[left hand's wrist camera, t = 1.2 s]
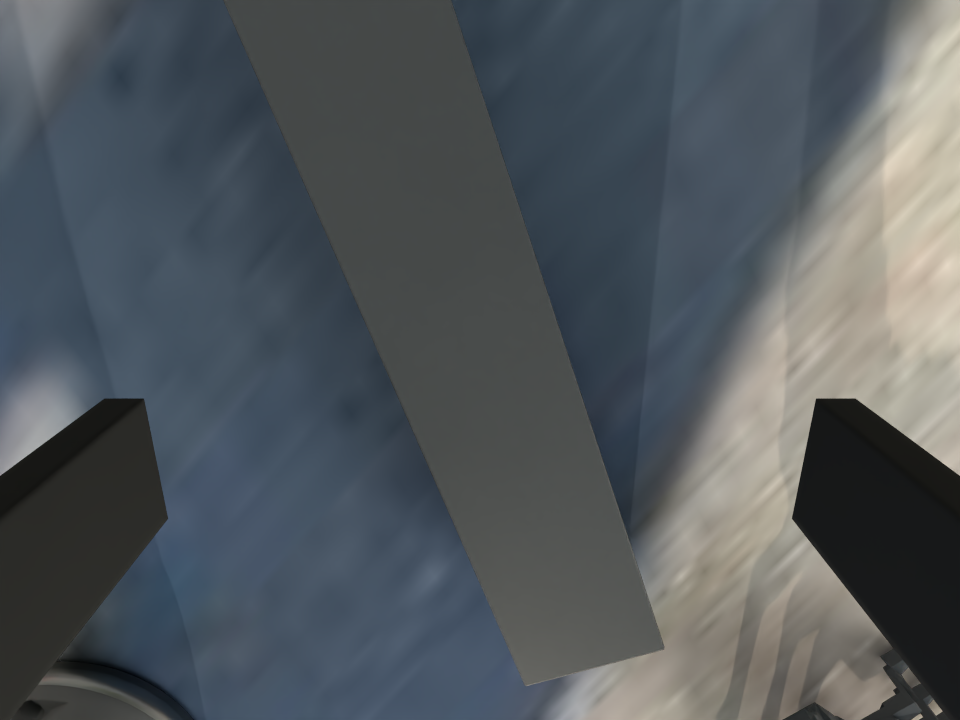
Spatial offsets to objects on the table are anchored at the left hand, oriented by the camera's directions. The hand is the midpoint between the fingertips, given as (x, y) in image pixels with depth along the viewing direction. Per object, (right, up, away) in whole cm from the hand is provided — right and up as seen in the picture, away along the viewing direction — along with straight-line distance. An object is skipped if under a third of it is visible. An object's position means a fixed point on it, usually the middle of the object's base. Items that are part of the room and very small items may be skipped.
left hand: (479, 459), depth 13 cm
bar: (-8, +25, +10) cm, 28 cm away
